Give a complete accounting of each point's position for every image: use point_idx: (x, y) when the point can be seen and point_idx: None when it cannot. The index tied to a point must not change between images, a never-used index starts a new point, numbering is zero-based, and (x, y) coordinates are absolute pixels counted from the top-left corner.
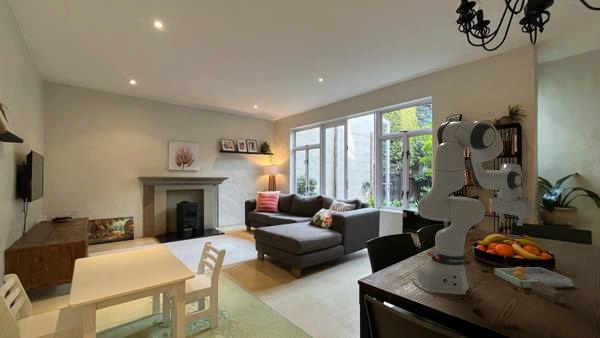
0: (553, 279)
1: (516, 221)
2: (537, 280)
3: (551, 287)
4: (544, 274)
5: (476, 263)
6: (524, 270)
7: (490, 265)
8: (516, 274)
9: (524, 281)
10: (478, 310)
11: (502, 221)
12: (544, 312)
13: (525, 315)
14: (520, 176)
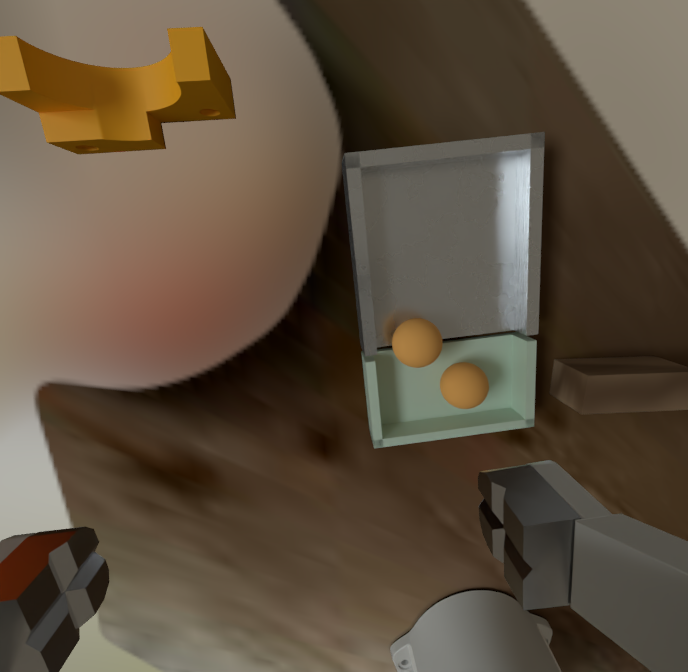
0: (535, 253)
1: (522, 608)
2: (532, 343)
3: (647, 375)
4: (396, 183)
5: (207, 428)
6: (440, 336)
7: (231, 370)
8: (475, 406)
9: (533, 410)
10: None
11: (99, 590)
12: (682, 462)
13: (684, 526)
14: None
